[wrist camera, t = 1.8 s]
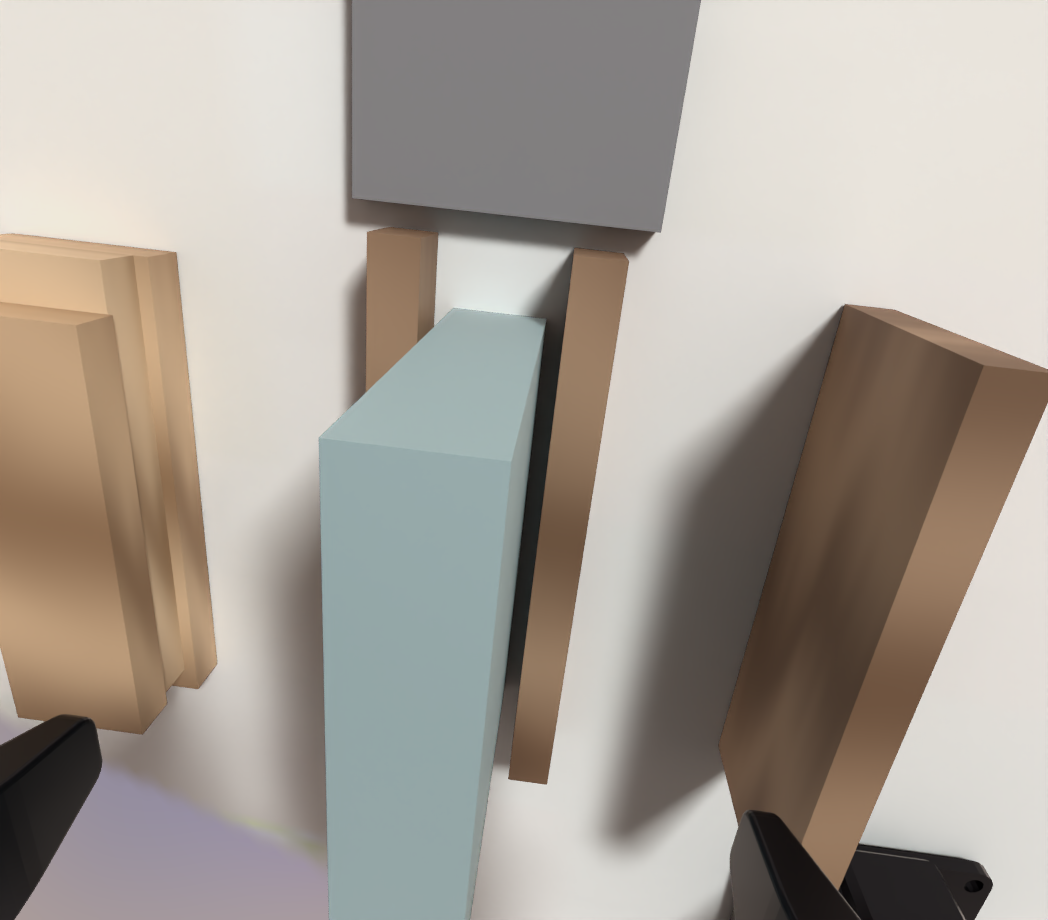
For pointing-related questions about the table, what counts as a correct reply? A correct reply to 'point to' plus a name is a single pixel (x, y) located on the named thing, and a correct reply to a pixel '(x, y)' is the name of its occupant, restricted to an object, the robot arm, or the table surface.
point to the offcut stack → (98, 485)
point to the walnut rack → (783, 537)
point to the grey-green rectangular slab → (422, 611)
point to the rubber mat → (521, 105)
